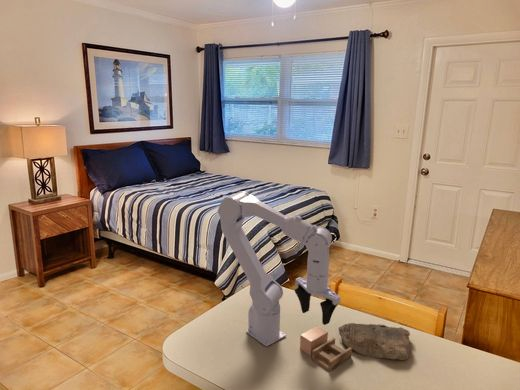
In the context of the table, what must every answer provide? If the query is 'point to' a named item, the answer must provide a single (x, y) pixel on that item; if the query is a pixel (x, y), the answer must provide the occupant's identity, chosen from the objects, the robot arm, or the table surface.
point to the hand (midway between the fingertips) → (315, 317)
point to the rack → (330, 355)
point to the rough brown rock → (376, 340)
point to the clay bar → (313, 339)
